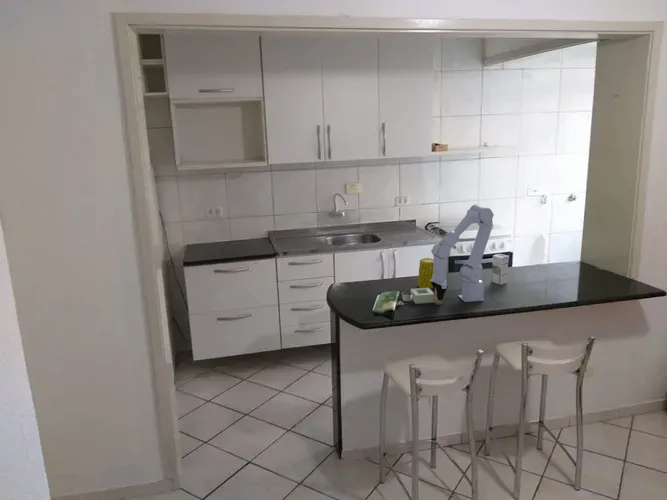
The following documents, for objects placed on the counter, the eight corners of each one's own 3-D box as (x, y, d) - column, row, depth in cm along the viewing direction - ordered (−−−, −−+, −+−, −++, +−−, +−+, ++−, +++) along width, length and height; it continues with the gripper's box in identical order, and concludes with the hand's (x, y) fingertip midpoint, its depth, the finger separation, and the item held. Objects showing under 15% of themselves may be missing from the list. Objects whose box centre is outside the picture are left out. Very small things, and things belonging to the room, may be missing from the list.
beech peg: (441, 301, 246) (441, 285, 243) (443, 304, 242) (444, 288, 240) (433, 302, 245) (434, 285, 243) (435, 305, 242) (436, 288, 240)
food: (414, 290, 265) (426, 286, 272) (434, 290, 257) (445, 286, 264) (410, 260, 264) (422, 257, 271) (430, 259, 256) (441, 256, 263)
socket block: (428, 295, 254) (428, 287, 252) (434, 302, 245) (434, 294, 244) (410, 296, 253) (410, 288, 251) (415, 303, 244) (415, 295, 243)
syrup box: (507, 283, 269) (509, 255, 265) (499, 285, 265) (501, 257, 261) (498, 280, 273) (500, 253, 269) (490, 282, 270) (492, 255, 266)
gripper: (426, 265, 246) (425, 293, 250) (436, 275, 232) (435, 304, 236) (441, 265, 247) (440, 292, 250) (451, 274, 233) (450, 303, 236)
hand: (438, 298), depth 243 cm, fingers closed on beech peg, 4 cm apart
